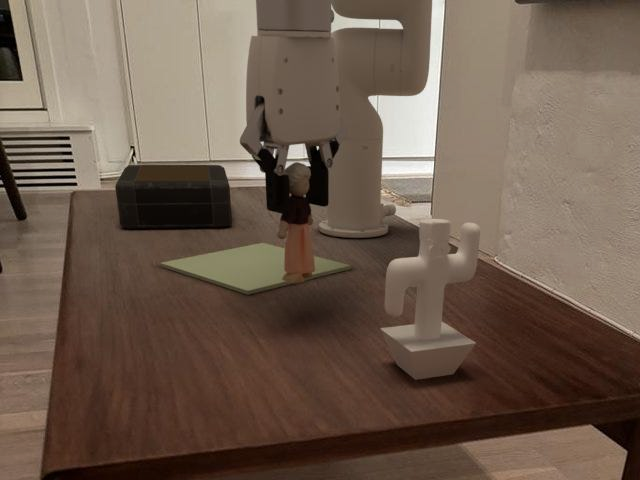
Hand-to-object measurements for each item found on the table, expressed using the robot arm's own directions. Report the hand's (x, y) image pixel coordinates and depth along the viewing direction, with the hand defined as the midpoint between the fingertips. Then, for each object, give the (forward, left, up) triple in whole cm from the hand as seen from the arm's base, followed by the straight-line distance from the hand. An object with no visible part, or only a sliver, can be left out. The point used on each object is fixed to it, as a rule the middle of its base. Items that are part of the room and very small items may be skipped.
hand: (298, 206), depth 84 cm
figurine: (+2, +21, -13) cm, 25 cm away
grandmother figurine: (0, 0, -8) cm, 8 cm away
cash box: (-26, -62, -13) cm, 68 cm away
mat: (-12, -22, -13) cm, 28 cm away
